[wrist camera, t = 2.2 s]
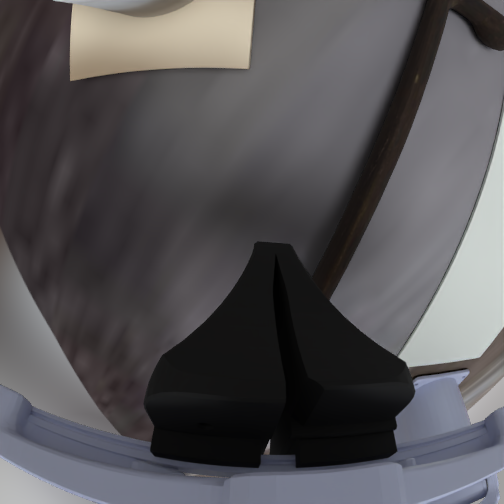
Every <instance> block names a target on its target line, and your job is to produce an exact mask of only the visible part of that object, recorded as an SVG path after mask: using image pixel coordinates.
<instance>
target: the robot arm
mask: <svg viewBox="0 0 504 504" xmlns="http://www.w3.org/2000/svg"><path fill="white" fill-rule="evenodd" d="M468 374H469V370H468V369H466V370H461V371H455V372H449V373H442V374H435V375H428V376H420V377H417V378H415V379H414V380H412V377H411V374H410V371H409V369H408V367H407V364H406V362H405V361H403V360H402V359H400V358H398V357H397V356H395V355H394V354H392V353H390V352H389V351H387V350H386V349H384V348H382V347H381V346H380V345H378V344H377V343H375V342H374V341H373V340H371V339H370V338H369V337H367V336H366V335H365V334H364V333H362V332H361V331H360V330H359V329H358V328H356V327H355V326H354V325H353V324H352V323H351V322H350V321H348V320H347V319H346V318H345V317H344V316H343V315H342V314H341V313H340V312H339V311H338V310H337V309H336V308H335V307H334V306H333V305H332V303H331V302H330V301H329V300H328V299H327V298H326V296H325V295H324V294H323V293H322V291H321V290H320V289H319V288H318V286H317V285H316V284H315V282H314V281H313V279H312V278H311V276H310V275H309V274H308V272H307V271H306V269H305V268H304V266H303V264H302V263H301V261H300V260H299V258H298V256H297V255H296V253H295V251H294V249H293V247H292V246H291V245H290V244H283V243H270V242H256V243H255V244H254V249H253V252H252V255H251V258H250V260H249V262H248V264H247V266H246V268H245V270H244V272H243V274H242V275H241V277H240V278H239V280H238V282H237V283H236V285H235V286H234V288H233V289H232V291H231V292H230V293H229V295H228V296H227V297H226V299H225V300H224V301H223V302H222V304H221V305H220V306H219V307H218V308H217V309H216V310H215V311H214V313H213V314H212V315H211V316H210V317H209V318H208V319H207V320H206V321H205V322H204V323H203V324H202V325H201V326H199V327H198V328H197V329H196V330H195V331H194V332H193V333H191V334H190V335H189V336H188V337H187V338H185V339H184V340H183V341H182V342H180V343H179V344H177V345H176V346H175V347H173V348H172V349H170V350H169V351H168V352H166V353H165V354H163V355H162V357H161V358H160V360H159V362H158V364H157V365H156V367H155V369H154V371H153V374H152V376H151V378H150V381H149V384H148V387H147V391H146V395H145V399H144V408H145V410H146V412H147V414H148V416H149V417H150V419H151V421H152V423H153V425H154V431H153V436H152V441H151V442H147V441H142V440H137V439H133V438H129V437H124V436H120V435H116V434H113V433H109V432H105V431H102V430H98V429H94V428H91V427H88V426H85V425H82V424H79V423H76V422H73V421H70V420H67V419H64V418H61V417H58V416H56V415H53V414H50V413H48V412H45V411H43V410H40V409H38V408H35V407H33V406H32V405H31V403H30V402H29V401H28V400H27V399H26V398H25V397H24V396H22V395H21V394H19V393H18V392H16V391H13V390H11V389H9V388H7V387H5V386H3V385H0V457H1V458H2V459H4V460H5V461H7V462H9V463H10V464H12V465H14V466H16V467H17V468H19V469H21V470H23V471H25V472H27V473H28V474H31V475H32V476H34V477H36V478H38V479H40V480H43V481H45V482H47V483H49V484H51V485H53V486H55V487H57V488H60V489H62V490H64V491H67V492H69V493H71V494H74V495H77V496H79V497H82V498H84V499H87V500H90V501H92V502H95V503H98V504H470V503H473V502H475V501H477V500H479V499H481V498H484V497H485V496H486V497H485V498H484V499H483V501H482V502H480V503H479V504H498V500H499V499H500V495H499V489H498V487H499V483H498V477H497V472H499V471H501V470H503V469H504V407H502V408H499V409H497V410H496V411H494V412H493V413H491V414H490V415H489V416H488V417H487V418H485V420H483V421H481V422H478V423H475V424H472V425H471V423H470V419H469V416H468V413H467V410H466V407H465V404H464V401H463V398H462V396H461V393H460V390H459V387H458V385H459V384H460V383H461V382H462V381H463V380H464V378H465V377H466V376H467V375H468ZM269 439H271V440H270V455H263V454H264V451H265V449H266V447H267V444H268V442H269ZM183 472H185V473H192V474H199V475H208V476H218V477H230V478H217V477H197V476H185V474H184V473H183ZM487 483H488V485H487Z"/></svg>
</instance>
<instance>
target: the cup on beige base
mask: <svg viewBox="0 0 504 504" xmlns="http://www.w3.org/2000/svg"><path fill="white" fill-rule="evenodd" d="M55 1H60V2H67V3H73V8H72V20H71V39H70V81H73V80H78V79H83V78H89V77H95V76H101V75H108V74H115V73H123V72H132V71H142V70H154V69H170V68H240V69H250V61H251V48H252V36H253V24H254V12H255V1H256V0H55Z"/></svg>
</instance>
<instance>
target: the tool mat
mask: <svg viewBox="0 0 504 504" xmlns="http://www.w3.org/2000/svg"><path fill="white" fill-rule="evenodd" d="M503 327H504V101H503V107H502V112H501V117H500V122H499V126H498V131H497V135H496V139H495V143H494V147H493V151H492V154H491V158H490V161H489V165H488V168H487V171H486V175H485V178H484V181H483V184H482V187H481V190H480V193H479V196H478V199H477V201H476V204H475V207H474V209H473V212H472V215H471V217H470V220H469V222H468V225H467V227H466V230H465V232H464V234H463V237H462V239H461V241H460V244H459V246H458V248H457V250H456V253H455V255H454V257H453V259H452V261H451V263H450V265H449V267H448V269H447V271H446V273H445V275H444V277H443V279H442V281H441V283H440V285H439V287H438V289H437V291H436V293H435V295H434V297H433V298H432V300H431V302H430V304H429V306H428V307H427V309H426V311H425V313H424V314H423V316H422V318H421V319H420V321H419V323H418V324H417V326H416V328H415V329H414V331H413V333H412V334H411V336H410V337H409V339H408V341H407V342H406V344H405V345H404V347H403V348H402V350H401V351H400V353H399V354H398V356H397V357H398V358H400V359H402V360H403V361H405V362H406V364H407V367H413V366H423V365H432V364H440V363H448V362H455V361H462V360H468V359H474V358H480V356H481V355H482V354H483V353H484V352H485V350H486V349H487V348H488V347H489V345H490V344H491V343H492V341H493V340H494V339H495V338H496V336H497V335H498V334H499V332H500V331H501V330H502V328H503Z"/></svg>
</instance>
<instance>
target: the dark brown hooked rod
mask: <svg viewBox="0 0 504 504" xmlns="http://www.w3.org/2000/svg"><path fill="white" fill-rule="evenodd" d="M450 8H452V9H454V10H456V11H457V12H459V13H460V14H461V15H463V16H464V17H466V18H467V19H468V20H469V21H470V22H471V23H472V25H473V27H474V30H475V32H476V35H477V36H478V37H479V39H480V40H481V41H482V42H483V43H484V44H485V45H487V46H488V47H490V48H492V49H495V50H499V51H502V50H504V16H503V15H502V14H500V13H499V12H498V11H496V10H495V9H493V8H492V7H491V6H489V5H488V4H487V3H485V2H484V1H483V0H427V3H426V6H425V11H424V14H423V16H422V19H421V23H420V26H419V29H418V32H417V35H416V38H415V41H414V44H413V47H412V50H411V53H410V56H409V59H408V62H407V64H406V67H405V70H404V73H403V76H402V78H401V81H400V84H399V87H398V89H397V92H396V95H395V97H394V100H393V102H392V104H391V106H390V110H389V112H388V115H387V117H386V119H385V122H384V124H383V127H382V129H381V131H380V134H379V136H378V138H377V141H376V143H375V145H374V148H373V150H372V152H371V154H370V157H369V159H368V161H367V164H366V166H365V168H364V170H363V173H362V175H361V177H360V179H359V182H358V184H357V186H356V188H355V190H354V192H353V194H352V197H351V199H350V201H349V203H348V205H347V207H346V210H345V212H344V214H343V216H342V218H341V220H340V222H339V225H338V227H337V229H336V231H335V233H334V235H333V237H332V239H331V241H330V243H329V245H328V247H327V249H326V251H325V253H324V255H323V257H322V259H321V261H320V263H319V265H318V267H317V269H316V271H315V273H314V275H313V277H312V279H313V281H314V282H315V284H316V285H317V286H318V288H319V289H320V290H321V291H322V293H323V294H324V295H325V296H326V298H327V299H328V300H330V298H331V296H332V294H333V292H334V290H335V289H336V287H337V285H338V283H339V281H340V279H341V278H342V276H343V274H344V272H345V270H346V268H347V266H348V264H349V262H350V260H351V258H352V256H353V254H354V252H355V250H356V248H357V247H358V245H359V243H360V240H361V238H362V236H363V234H364V232H365V230H366V228H367V226H368V224H369V222H370V220H371V218H372V216H373V214H374V212H375V209H376V207H377V205H378V203H379V201H380V199H381V197H382V194H383V192H384V190H385V188H386V186H387V183H388V181H389V179H390V177H391V175H392V172H393V170H394V168H395V166H396V163H397V161H398V159H399V156H400V154H401V152H402V149H403V147H404V144H405V142H406V139H407V137H408V134H409V132H410V129H411V127H412V124H413V121H414V119H415V116H416V113H417V110H418V108H419V105H420V102H421V99H422V96H423V93H424V90H425V87H426V84H427V82H428V79H429V76H430V73H431V69H432V66H433V63H434V60H435V57H436V53H437V50H438V47H439V44H440V40H441V37H442V34H443V30H444V27H445V23H446V20H447V16H448V12H449V9H450Z"/></svg>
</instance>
